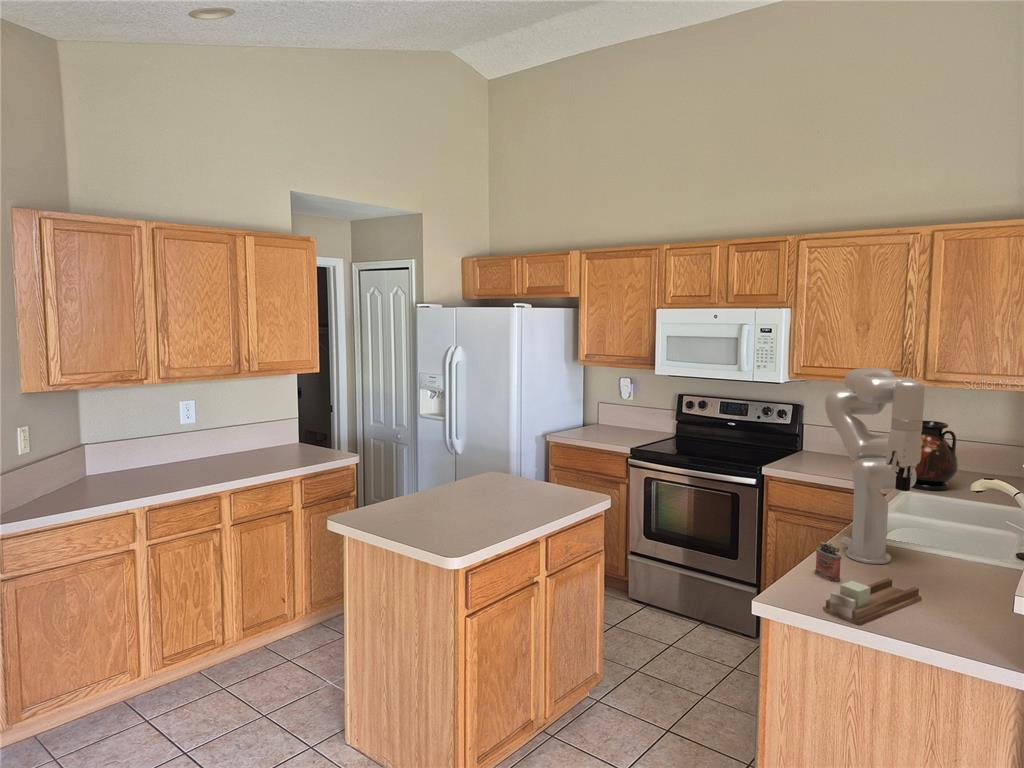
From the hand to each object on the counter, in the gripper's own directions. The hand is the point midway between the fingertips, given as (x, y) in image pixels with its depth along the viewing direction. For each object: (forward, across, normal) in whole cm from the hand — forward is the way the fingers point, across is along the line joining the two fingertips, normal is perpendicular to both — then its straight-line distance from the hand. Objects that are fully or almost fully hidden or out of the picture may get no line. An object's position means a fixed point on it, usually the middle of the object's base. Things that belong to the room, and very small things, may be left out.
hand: (902, 489), depth 194 cm
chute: (+27, +20, +5) cm, 34 cm away
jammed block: (+26, +28, +5) cm, 39 cm away
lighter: (+27, +13, -13) cm, 33 cm away
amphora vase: (+28, -114, -52) cm, 128 cm away
